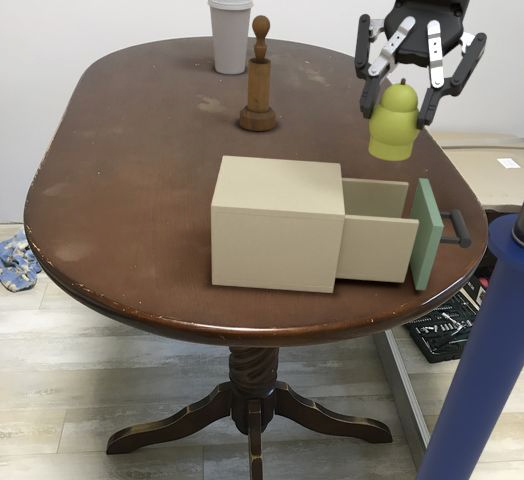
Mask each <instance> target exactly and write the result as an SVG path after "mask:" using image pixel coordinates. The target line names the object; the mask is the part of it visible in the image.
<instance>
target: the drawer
mask: <svg viewBox="0 0 524 480" xmlns="http://www.w3.org/2000/svg"><path fill="white" fill-rule="evenodd" d="M409 186H410V184H409V182H408V181H398V180H397V181H396V180H379V179H367V178H353V177H342V188H343V198H344V209H345V218H344V225H343V231H342V238H341V244H340V250H339V257H338V263H337V269H336V276H335V279H344V280H345V279H348V280H359V281H360V280H361V281H373V282H374V281H376V282H387V283H388V282H390V283H401V284H402V283H405V280H406V276H407V273H408V268H409V266H410V270H411V275H412V279H413V283H414V284H413V285H414V288H415V290H416V291H426V289H427V287H428V283H429V281H430V280H429V279H430V276H431V273H432V269H433V266H434V262H435V258H436V256H437V252H438V248H439V245H440V244H448V245H459V247H460V248H461V249H468V248H470V247H471V246H472V243H473V242H472V238H471V236H470V233H469V230H468V228H467V226H466V223H465V219H464V218H463V215H462V213H461V211H460V209H458V208H455V209H451V211H440V210H439V207H438V204H437V201H436V199H435V195H434V192H433V189H432V186H431V183H430V180H429V178H423V177H422V178H420V177H419V178H418V180H417V184H416V189H415V193H414V197H413V201H412V205H411V209H410V213H409V216H408V217H409V218H402V217H403V216H402V215H403V212H404V208H405V204H406V199H407V195H408V190H409ZM442 219H450V222H451V225H452V228H453V231H454V233H455V236H443V234H442V233H443V231H444V228H445V225H444V223H443V220H442Z"/></svg>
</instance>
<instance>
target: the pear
mask: <svg viewBox="0 0 524 480" xmlns="http://www.w3.org/2000/svg"><path fill="white" fill-rule="evenodd" d="M406 82H407V79H406V78H405V77H402V78H401V79H400V82H398V83H394V84H391V85H390V86H389V87H387V88H386V89H385V90H384V91H383V93H382V95H381V97H380V100H379V103H378V104H377V105H375V107H374V110H373V112H372V115H371V118H370V119H369V122H368V130H369V134H370V137H369V142H368V152H369V154H370V155H371V156H374V157H375V158H377V159H379V160H383V161H388V162H400V161H404V160H407V159H409V158H410V157H411V155H412V152H413V151H412V150H413V147H414V142H415V141H416V139H417V137H418V136H419V134H420V131H421V130H418V129H416V125H417V119H418V115H419V112H420V109H419V107H418V105H419V97H418V93H417V91H416V90H415V89H414V87H412V86H411V85H410V84H407V83H406Z"/></svg>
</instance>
